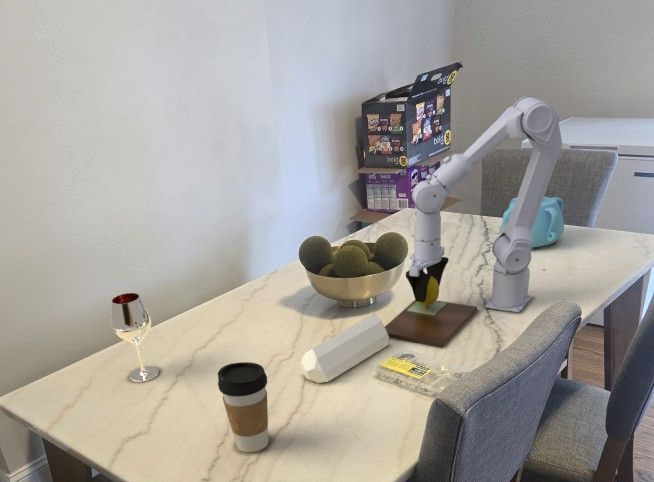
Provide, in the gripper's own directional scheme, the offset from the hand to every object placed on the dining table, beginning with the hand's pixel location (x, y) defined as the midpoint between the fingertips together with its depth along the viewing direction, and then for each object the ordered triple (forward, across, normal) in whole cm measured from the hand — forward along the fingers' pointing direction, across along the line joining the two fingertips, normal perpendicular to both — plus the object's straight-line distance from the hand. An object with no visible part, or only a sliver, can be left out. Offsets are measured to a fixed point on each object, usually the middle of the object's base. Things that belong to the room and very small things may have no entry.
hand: (427, 294), depth 160 cm
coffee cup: (+4, +62, -6) cm, 63 cm away
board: (+4, +6, +3) cm, 8 cm away
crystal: (+4, +28, -6) cm, 29 cm away
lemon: (+3, 0, 0) cm, 3 cm away
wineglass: (+4, +52, -44) cm, 68 cm away
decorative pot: (+5, -52, +8) cm, 53 cm away
